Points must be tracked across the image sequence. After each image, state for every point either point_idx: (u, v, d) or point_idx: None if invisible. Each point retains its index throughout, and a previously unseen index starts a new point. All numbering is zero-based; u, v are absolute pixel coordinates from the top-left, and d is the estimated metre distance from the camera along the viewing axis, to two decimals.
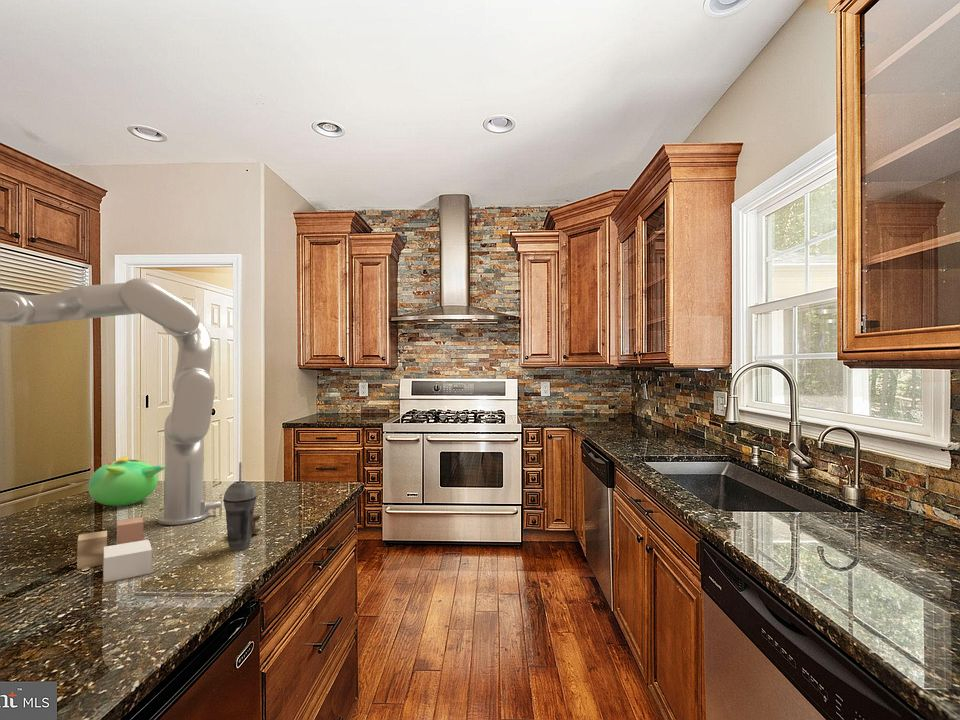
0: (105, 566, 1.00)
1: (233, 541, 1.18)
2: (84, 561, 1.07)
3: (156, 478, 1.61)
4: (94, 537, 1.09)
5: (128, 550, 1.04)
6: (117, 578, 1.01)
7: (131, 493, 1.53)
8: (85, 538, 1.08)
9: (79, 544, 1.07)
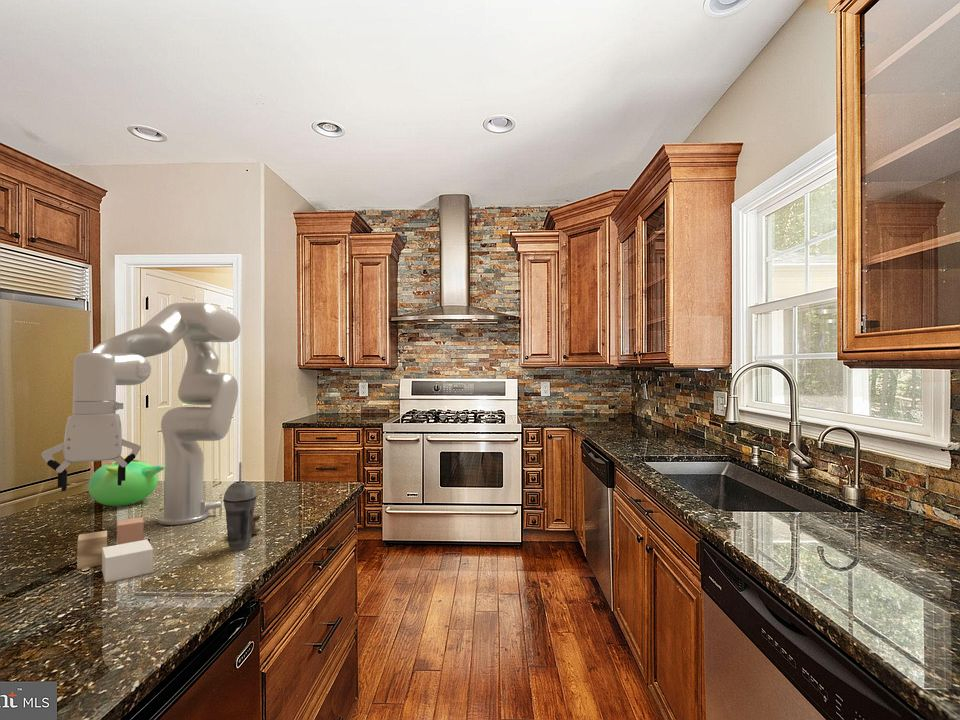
0: (107, 566, 1.00)
1: (233, 541, 1.18)
2: (84, 561, 1.07)
3: (156, 478, 1.61)
4: (94, 536, 1.09)
5: (129, 550, 1.04)
6: (119, 578, 1.02)
7: (131, 493, 1.53)
8: (85, 538, 1.08)
9: (79, 544, 1.07)
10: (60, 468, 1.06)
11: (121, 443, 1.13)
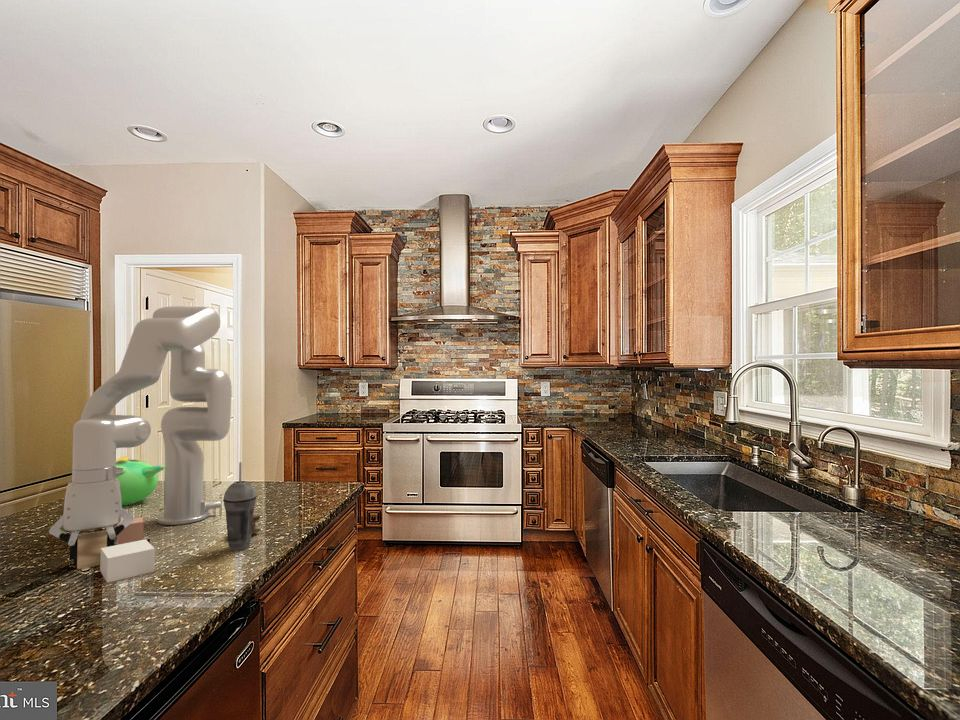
0: (109, 566, 1.00)
1: (233, 541, 1.18)
2: (84, 561, 1.07)
3: (156, 478, 1.61)
4: (94, 536, 1.09)
5: (130, 550, 1.05)
6: (121, 578, 1.02)
7: (131, 493, 1.53)
8: (85, 538, 1.08)
9: (79, 544, 1.07)
10: (71, 541, 1.07)
11: (121, 509, 1.12)
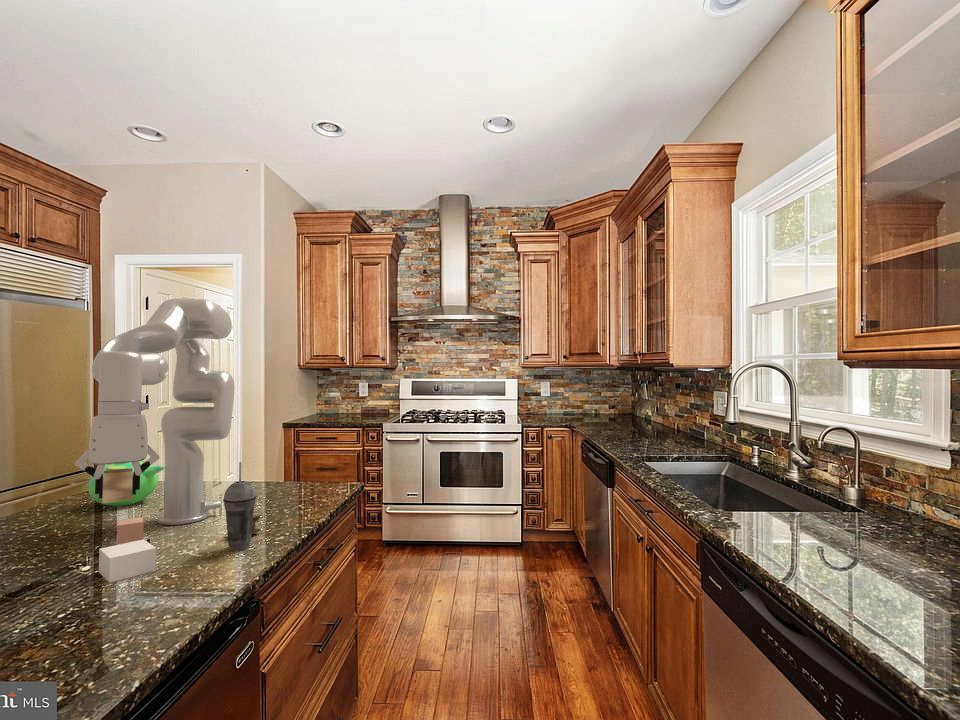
0: (111, 566, 1.00)
1: (233, 541, 1.18)
2: (110, 495, 1.04)
3: (156, 478, 1.61)
4: (120, 471, 1.06)
5: (131, 550, 1.05)
6: (122, 577, 1.02)
7: None
8: (111, 472, 1.05)
9: (104, 477, 1.04)
10: (97, 474, 1.04)
11: (147, 445, 1.09)
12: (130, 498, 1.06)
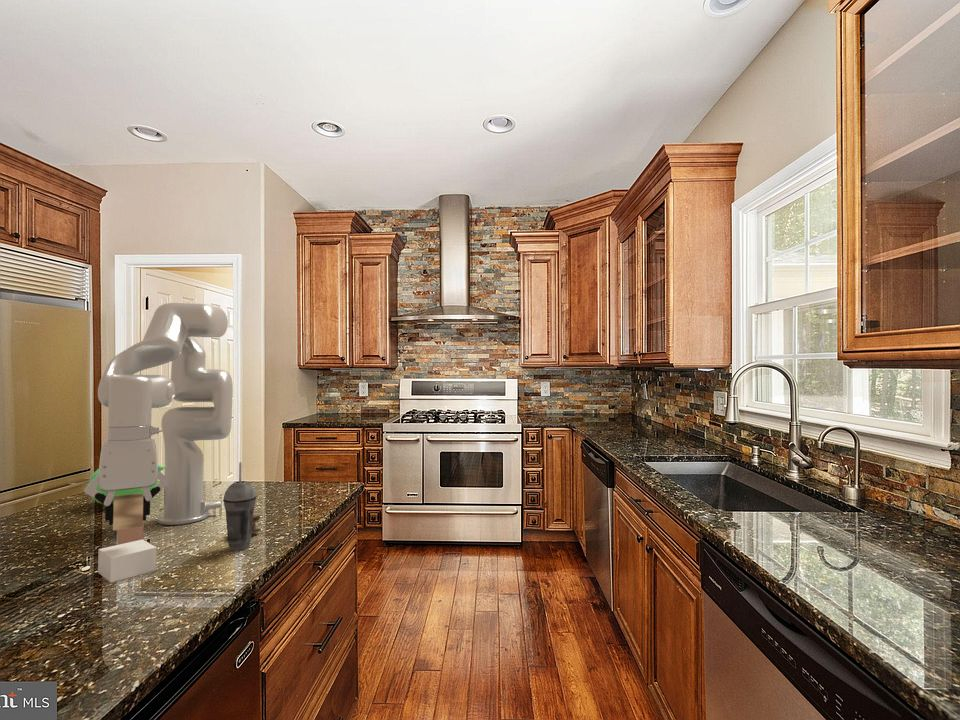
0: (112, 566, 1.00)
1: (233, 541, 1.18)
2: (120, 522, 1.03)
3: None
4: (130, 497, 1.05)
5: (131, 550, 1.05)
6: (123, 577, 1.02)
7: (131, 493, 1.53)
8: (121, 498, 1.04)
9: (115, 504, 1.03)
10: (107, 501, 1.03)
11: (157, 469, 1.08)
12: (141, 524, 1.05)
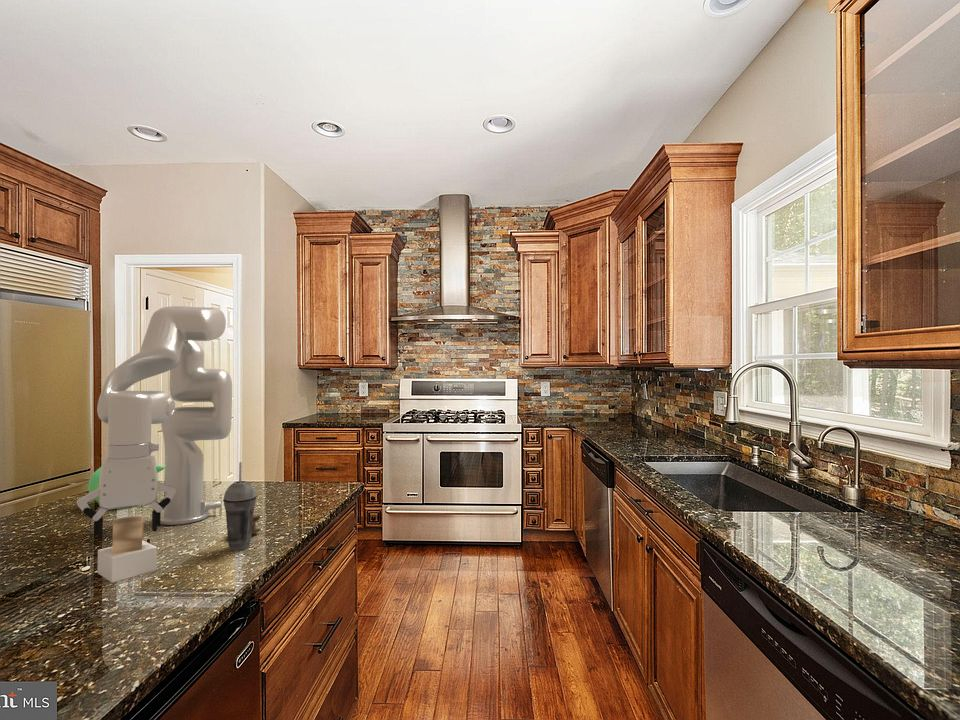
0: (113, 566, 1.00)
1: (233, 541, 1.18)
2: (120, 546, 1.03)
3: None
4: (129, 520, 1.05)
5: None
6: (125, 577, 1.02)
7: None
8: (120, 522, 1.04)
9: (114, 528, 1.03)
10: (96, 516, 1.02)
11: (157, 487, 1.08)
12: (140, 547, 1.05)
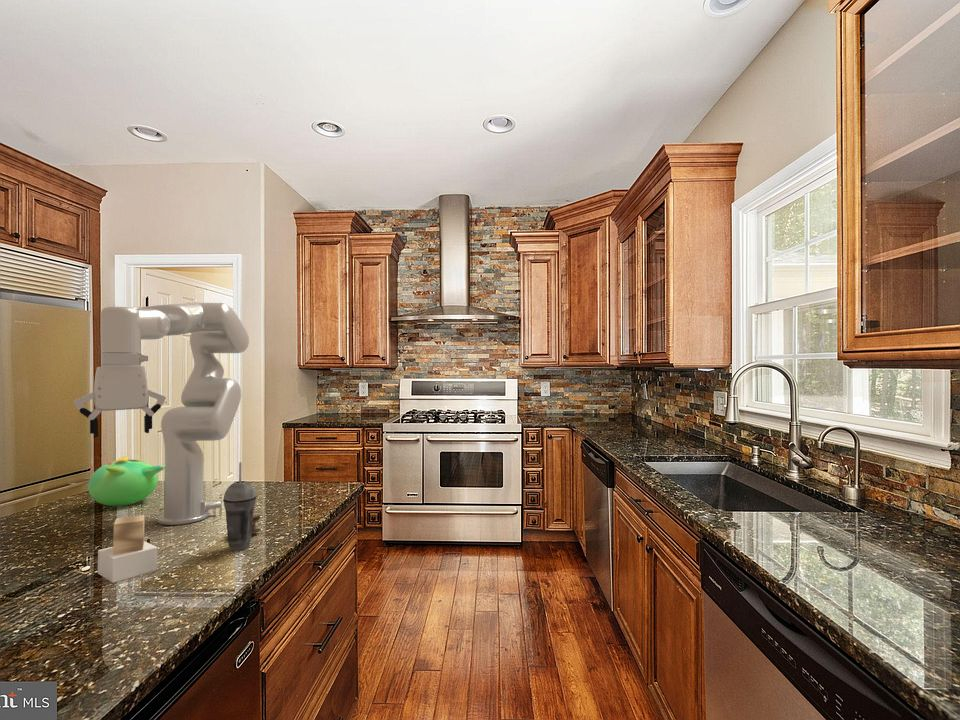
0: (114, 566, 1.00)
1: (233, 541, 1.18)
2: (120, 546, 1.03)
3: (156, 478, 1.61)
4: (131, 520, 1.05)
5: None
6: (125, 577, 1.02)
7: (131, 493, 1.53)
8: (121, 522, 1.04)
9: (115, 528, 1.03)
10: (92, 415, 1.12)
11: (147, 393, 1.19)
12: (141, 548, 1.05)
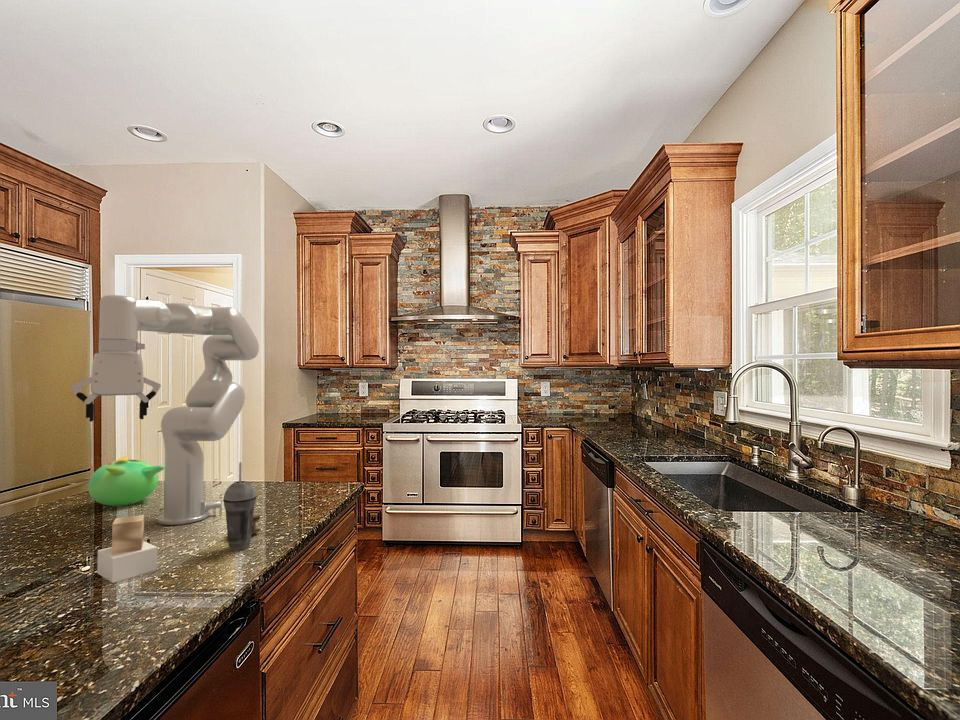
0: (114, 566, 1.00)
1: (233, 541, 1.18)
2: (119, 546, 1.03)
3: (156, 478, 1.61)
4: (129, 520, 1.05)
5: None
6: (125, 577, 1.02)
7: (131, 493, 1.53)
8: (120, 522, 1.04)
9: (114, 528, 1.03)
10: (88, 400, 1.16)
11: (143, 380, 1.22)
12: (139, 548, 1.05)
